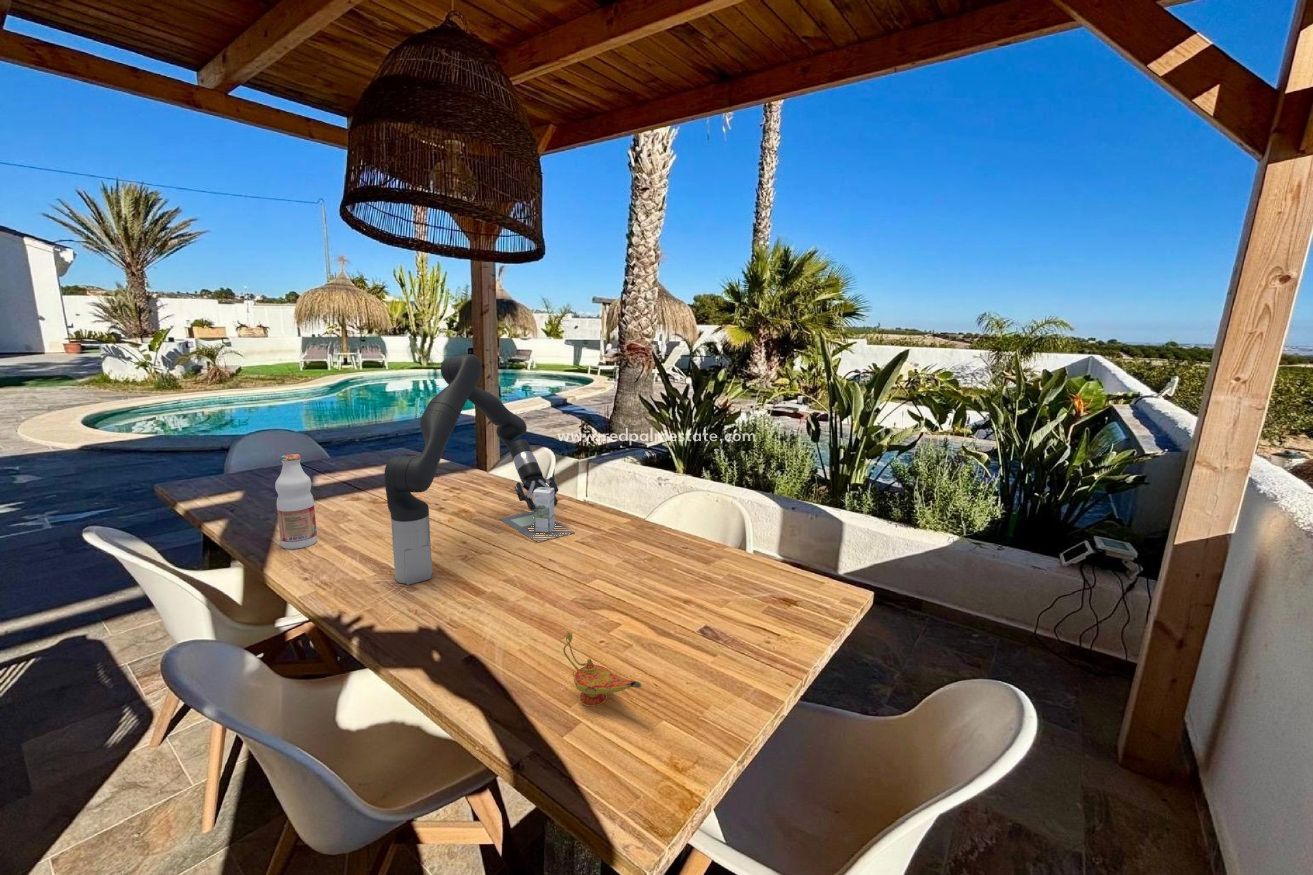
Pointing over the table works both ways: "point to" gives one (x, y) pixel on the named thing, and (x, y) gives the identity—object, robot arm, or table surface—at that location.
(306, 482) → the fruit juice
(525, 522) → the mat
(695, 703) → the table surface
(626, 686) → the magic lamp
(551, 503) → the syrup box
